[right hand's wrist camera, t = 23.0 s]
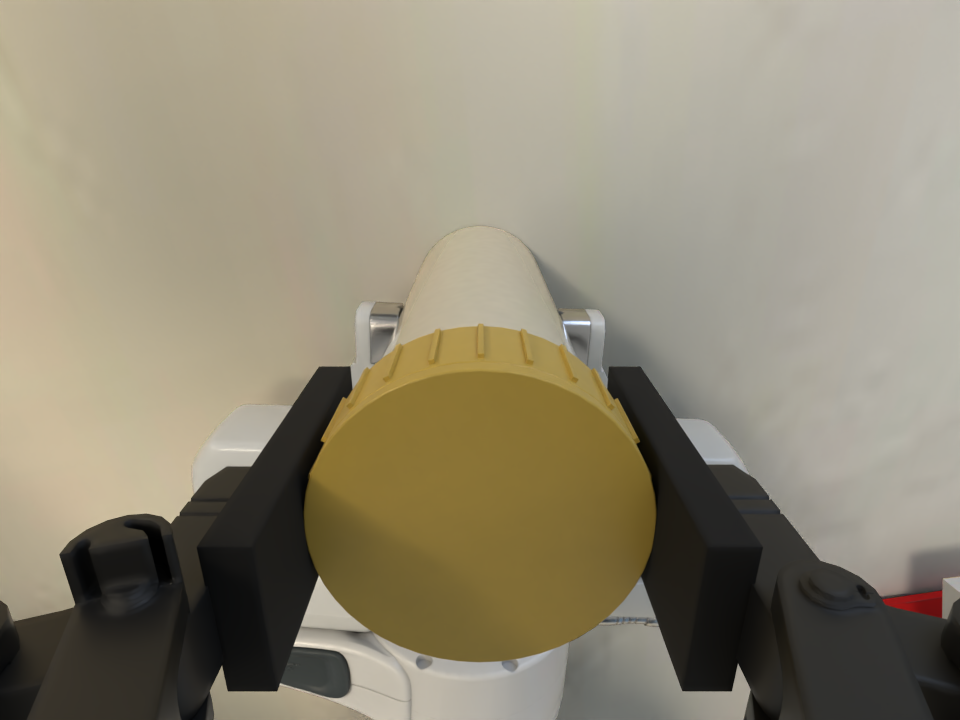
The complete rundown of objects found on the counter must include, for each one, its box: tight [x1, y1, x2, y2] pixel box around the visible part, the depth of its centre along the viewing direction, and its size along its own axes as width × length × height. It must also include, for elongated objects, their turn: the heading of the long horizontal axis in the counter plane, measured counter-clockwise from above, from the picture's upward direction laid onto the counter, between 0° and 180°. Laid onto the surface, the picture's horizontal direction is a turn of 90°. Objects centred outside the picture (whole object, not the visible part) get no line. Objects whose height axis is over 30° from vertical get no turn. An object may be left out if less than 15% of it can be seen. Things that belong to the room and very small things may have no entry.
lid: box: [303, 324, 657, 662], centre depth 11 cm, size 6×6×2 cm
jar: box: [381, 226, 579, 359], centre depth 19 cm, size 6×6×16 cm
